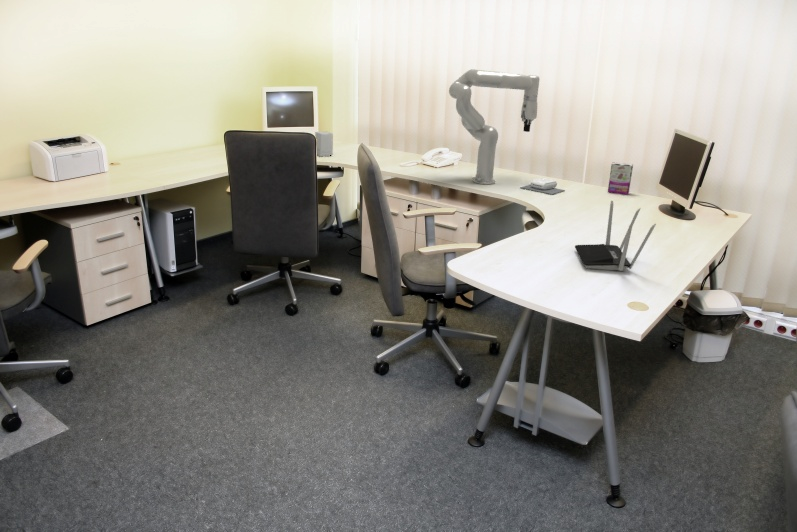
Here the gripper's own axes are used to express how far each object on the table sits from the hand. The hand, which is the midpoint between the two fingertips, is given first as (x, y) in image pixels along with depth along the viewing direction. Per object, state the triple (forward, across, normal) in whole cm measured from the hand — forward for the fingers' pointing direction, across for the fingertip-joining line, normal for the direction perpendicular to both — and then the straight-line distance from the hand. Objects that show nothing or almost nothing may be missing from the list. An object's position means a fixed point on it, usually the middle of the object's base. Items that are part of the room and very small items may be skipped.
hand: (526, 131), depth 373 cm
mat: (+28, -10, -21) cm, 37 cm away
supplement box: (+30, -44, +124) cm, 135 cm away
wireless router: (+29, -95, -102) cm, 143 cm away
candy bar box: (+28, +19, -51) cm, 62 cm away
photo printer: (+26, -2, -20) cm, 33 cm away
